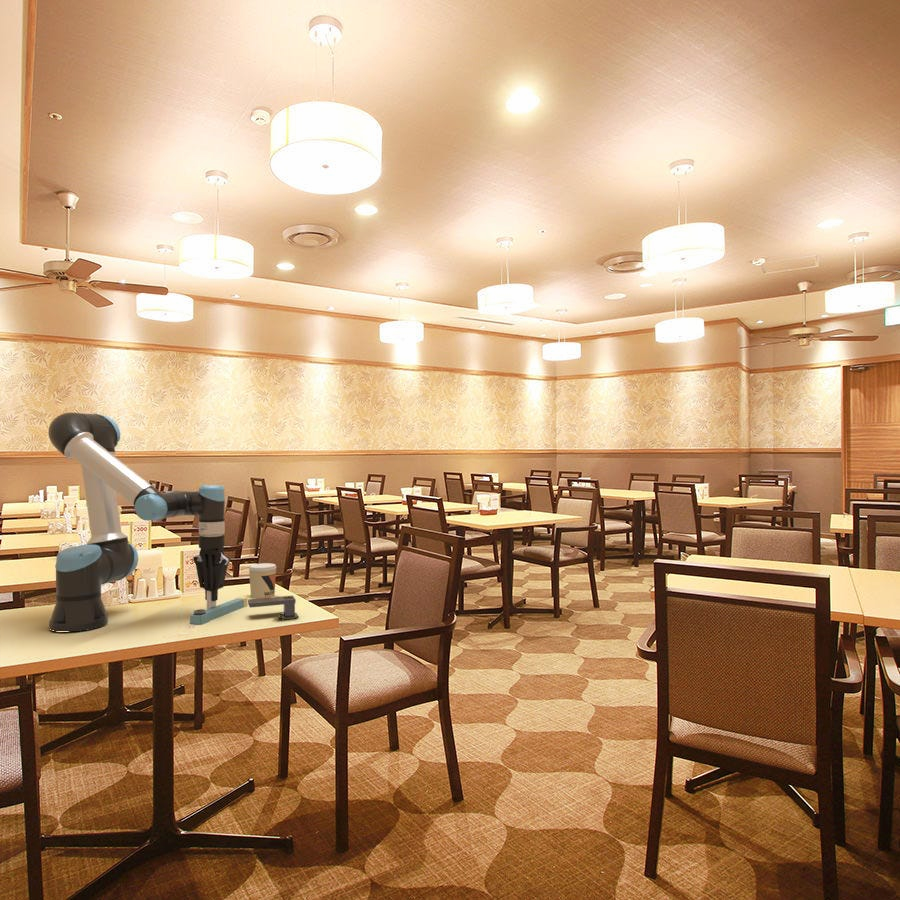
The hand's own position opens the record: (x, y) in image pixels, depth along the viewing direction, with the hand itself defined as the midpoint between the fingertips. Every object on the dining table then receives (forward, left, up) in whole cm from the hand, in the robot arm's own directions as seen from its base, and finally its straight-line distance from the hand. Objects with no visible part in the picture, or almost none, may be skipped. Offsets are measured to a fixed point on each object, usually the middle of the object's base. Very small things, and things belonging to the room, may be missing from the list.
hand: (211, 611), depth 198 cm
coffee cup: (+21, +18, -3) cm, 28 cm away
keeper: (+16, -11, -3) cm, 20 cm away
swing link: (+3, -1, -1) cm, 3 cm away
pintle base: (-5, -7, -3) cm, 9 cm away
